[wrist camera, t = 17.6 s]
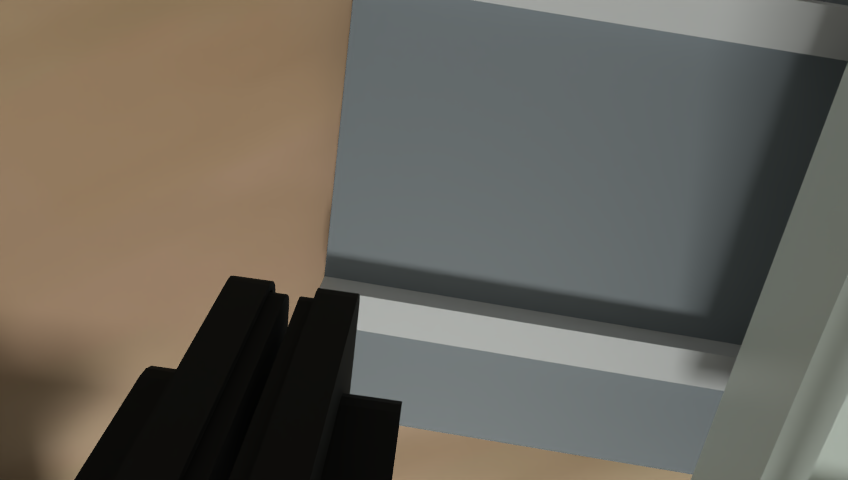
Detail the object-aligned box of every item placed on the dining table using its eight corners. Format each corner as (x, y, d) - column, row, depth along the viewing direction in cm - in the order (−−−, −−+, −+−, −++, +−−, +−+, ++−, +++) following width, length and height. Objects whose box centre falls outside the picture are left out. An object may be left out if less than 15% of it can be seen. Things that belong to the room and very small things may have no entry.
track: (384, -248, 19) (374, -259, 17) (1505, -70, 19) (1602, -64, 17) (317, 392, 27) (305, 425, 26) (1100, 523, 27) (1139, 565, 25)
